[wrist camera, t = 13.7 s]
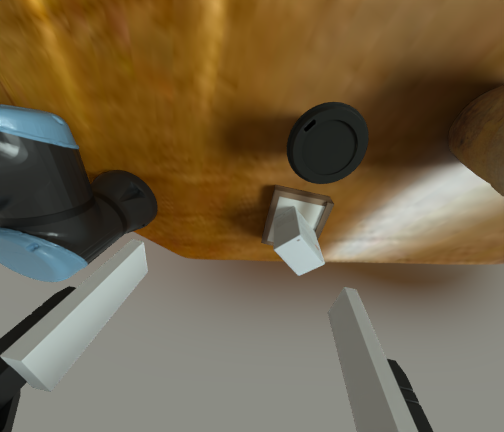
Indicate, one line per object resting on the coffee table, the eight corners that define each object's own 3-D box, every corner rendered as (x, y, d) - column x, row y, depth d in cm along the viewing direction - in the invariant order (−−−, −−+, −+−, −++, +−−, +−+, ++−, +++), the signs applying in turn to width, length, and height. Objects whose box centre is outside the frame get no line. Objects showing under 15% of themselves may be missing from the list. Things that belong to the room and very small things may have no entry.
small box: (273, 218, 41) (272, 249, 32) (295, 205, 39) (300, 233, 30) (293, 242, 44) (298, 277, 35) (315, 231, 42) (325, 265, 33)
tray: (262, 235, 48) (261, 244, 45) (275, 184, 41) (275, 191, 38) (308, 245, 48) (310, 255, 44) (329, 196, 41) (334, 204, 37)
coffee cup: (305, 171, 39) (319, 202, 26) (273, 135, 36) (270, 148, 23) (349, 135, 35) (391, 150, 22) (316, 90, 32) (341, 77, 19)
